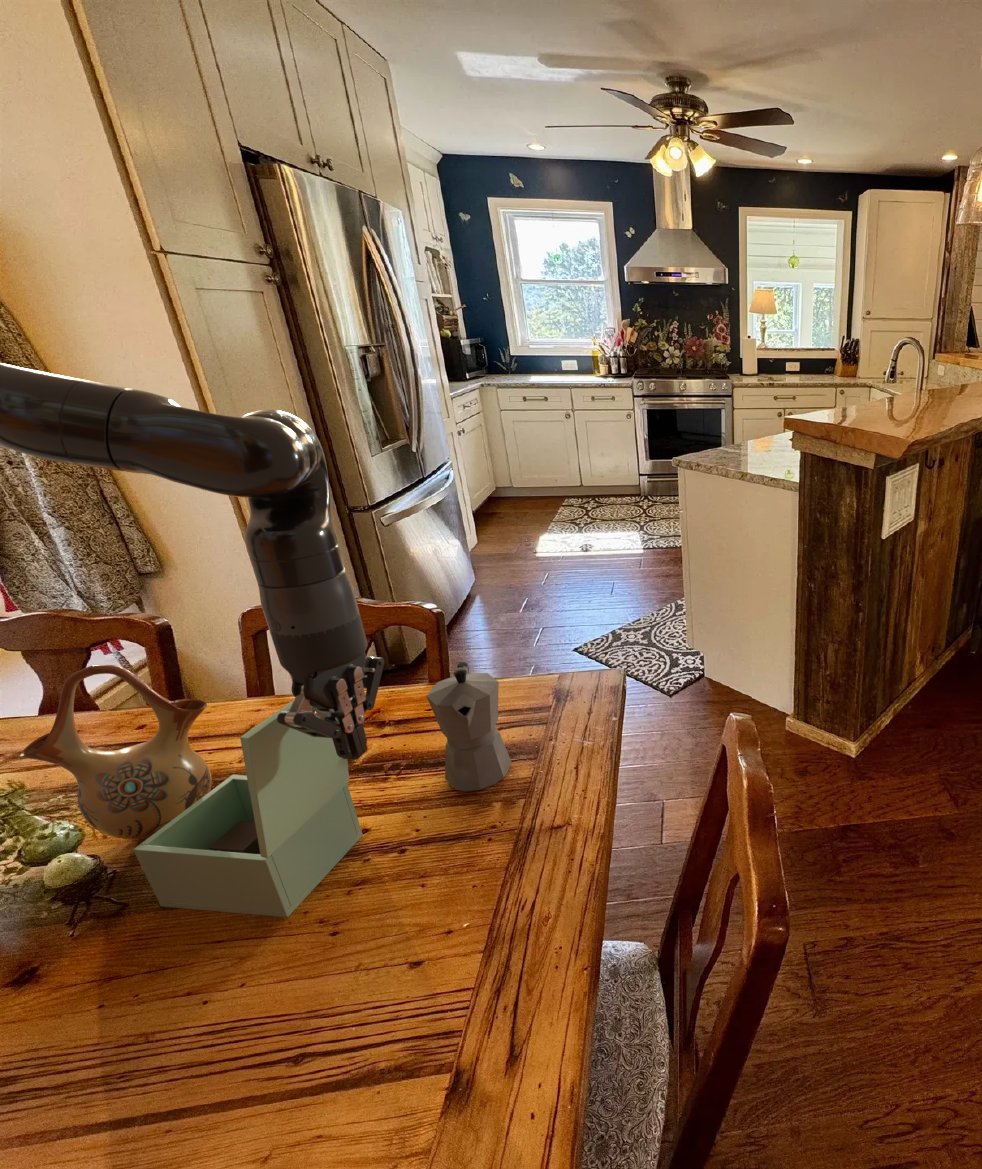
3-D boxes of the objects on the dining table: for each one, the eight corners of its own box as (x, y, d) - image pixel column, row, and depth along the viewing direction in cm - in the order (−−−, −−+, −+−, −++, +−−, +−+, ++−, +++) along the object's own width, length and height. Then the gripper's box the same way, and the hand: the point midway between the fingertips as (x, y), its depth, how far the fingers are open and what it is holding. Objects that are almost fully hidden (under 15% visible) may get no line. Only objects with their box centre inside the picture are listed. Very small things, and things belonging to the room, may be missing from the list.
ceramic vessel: (242, 783, 91) (184, 632, 82) (245, 818, 85) (183, 659, 76) (82, 836, 81) (-6, 672, 72) (72, 880, 75) (-25, 706, 66)
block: (254, 877, 75) (243, 850, 74) (219, 875, 76) (207, 847, 74) (282, 849, 79) (273, 822, 78) (249, 847, 80) (239, 820, 78)
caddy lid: (239, 737, 61) (247, 738, 61) (333, 672, 73) (339, 673, 73) (260, 856, 68) (267, 858, 68) (343, 779, 79) (349, 780, 79)
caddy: (160, 906, 72) (132, 849, 69) (252, 826, 84) (232, 774, 80) (287, 917, 71) (265, 860, 68) (363, 835, 83) (347, 783, 80)
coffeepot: (516, 790, 92) (498, 686, 85) (444, 809, 88) (420, 701, 81) (507, 732, 104) (492, 638, 97) (445, 746, 100) (424, 649, 94)
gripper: (298, 649, 56) (344, 798, 63) (392, 592, 69) (422, 722, 75) (220, 644, 57) (274, 793, 64) (327, 588, 69) (363, 718, 76)
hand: (354, 754), depth 69 cm, fingers closed
